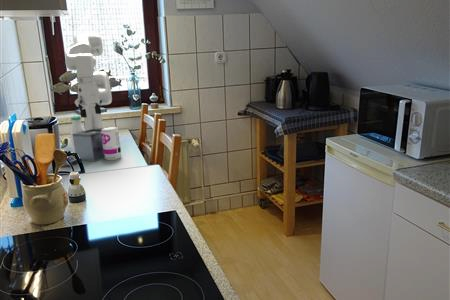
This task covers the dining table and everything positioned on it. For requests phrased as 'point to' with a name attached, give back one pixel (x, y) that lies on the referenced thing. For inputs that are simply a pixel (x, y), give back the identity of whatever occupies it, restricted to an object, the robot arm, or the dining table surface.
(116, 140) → the supplement can
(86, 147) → the box
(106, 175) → the dining table surface
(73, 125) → the milk bottle
